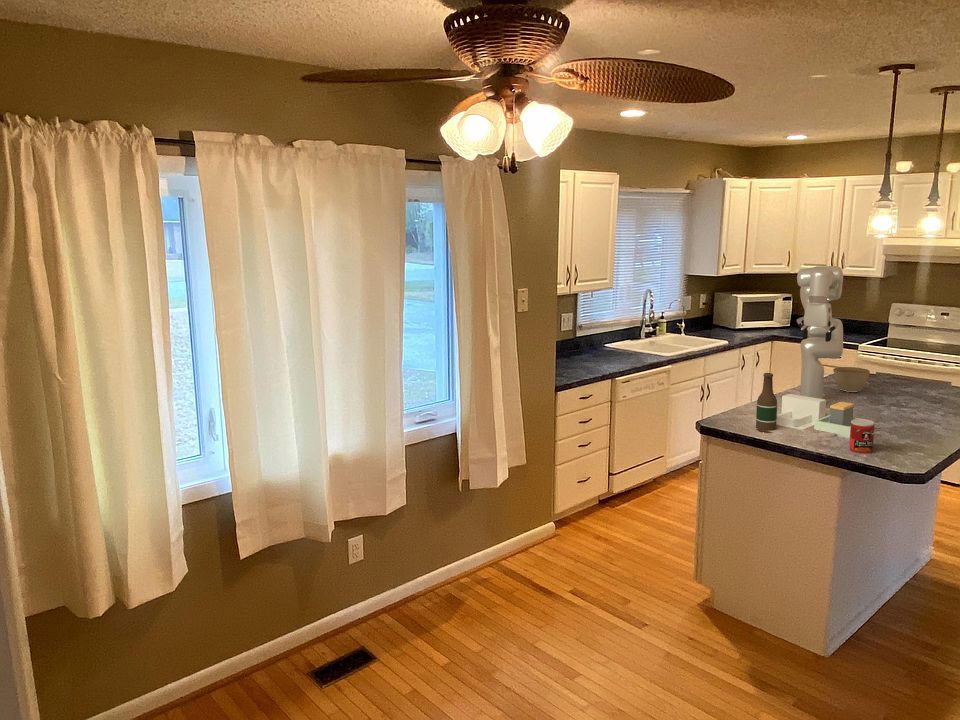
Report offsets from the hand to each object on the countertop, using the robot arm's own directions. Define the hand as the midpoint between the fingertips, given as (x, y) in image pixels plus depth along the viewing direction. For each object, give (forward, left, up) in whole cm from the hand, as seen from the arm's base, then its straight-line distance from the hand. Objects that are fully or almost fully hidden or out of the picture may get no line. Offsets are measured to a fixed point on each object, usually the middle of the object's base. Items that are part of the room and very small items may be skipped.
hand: (816, 340), depth 292 cm
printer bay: (+13, -1, -34) cm, 37 cm away
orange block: (+11, +17, -33) cm, 39 cm away
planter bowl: (-63, -11, -34) cm, 73 cm away
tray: (+11, +17, -34) cm, 40 cm away
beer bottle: (+31, -4, -34) cm, 47 cm away
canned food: (+31, +33, -34) cm, 57 cm away
